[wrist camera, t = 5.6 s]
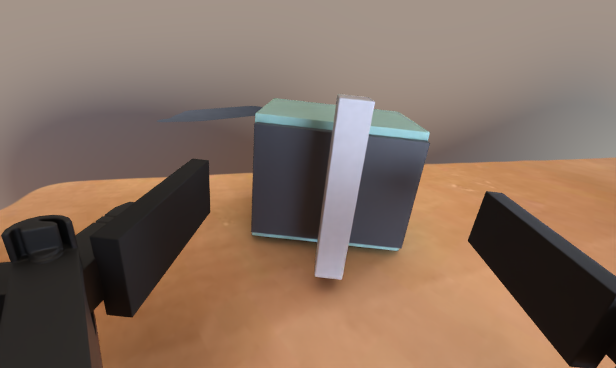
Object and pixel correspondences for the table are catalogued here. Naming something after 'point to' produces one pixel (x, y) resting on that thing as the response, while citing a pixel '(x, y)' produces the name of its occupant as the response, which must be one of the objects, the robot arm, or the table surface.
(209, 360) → the table surface
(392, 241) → the dark grey drawer
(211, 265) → the table surface
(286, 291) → the table surface
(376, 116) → the box
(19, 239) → the robot arm
